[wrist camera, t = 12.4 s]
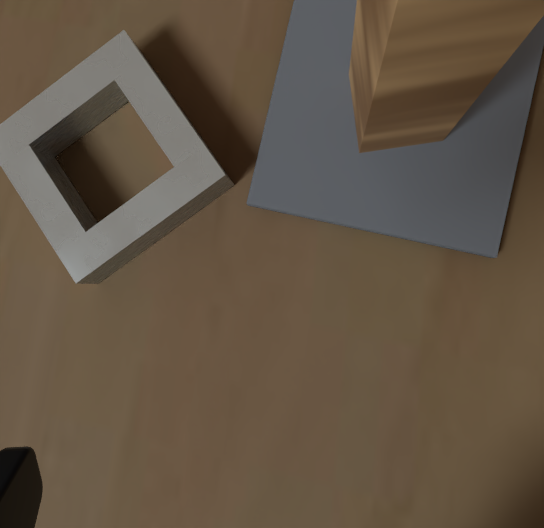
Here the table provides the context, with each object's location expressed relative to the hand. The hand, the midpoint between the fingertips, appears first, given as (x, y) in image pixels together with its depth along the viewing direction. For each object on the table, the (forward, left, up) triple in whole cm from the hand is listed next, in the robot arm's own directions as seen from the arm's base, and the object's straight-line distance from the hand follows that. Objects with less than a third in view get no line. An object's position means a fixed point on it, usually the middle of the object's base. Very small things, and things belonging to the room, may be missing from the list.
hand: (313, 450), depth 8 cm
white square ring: (+11, -6, -13) cm, 18 cm away
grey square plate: (-1, -11, -13) cm, 17 cm away
